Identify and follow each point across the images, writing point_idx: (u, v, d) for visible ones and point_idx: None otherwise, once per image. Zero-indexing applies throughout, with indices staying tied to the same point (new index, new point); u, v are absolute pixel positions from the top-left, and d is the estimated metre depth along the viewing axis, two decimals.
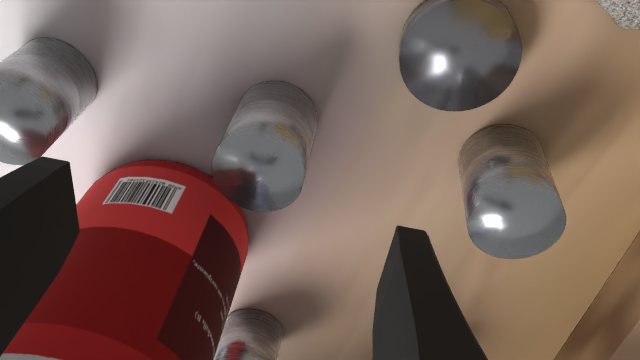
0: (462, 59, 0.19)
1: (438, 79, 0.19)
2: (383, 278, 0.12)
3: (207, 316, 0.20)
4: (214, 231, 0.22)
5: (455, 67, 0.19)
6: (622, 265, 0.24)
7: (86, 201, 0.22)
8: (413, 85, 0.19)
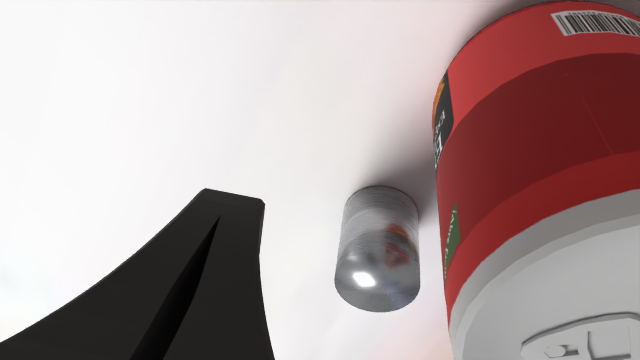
0: None
1: None
2: None
3: None
4: None
5: None
6: None
7: (518, 40, 0.16)
8: None
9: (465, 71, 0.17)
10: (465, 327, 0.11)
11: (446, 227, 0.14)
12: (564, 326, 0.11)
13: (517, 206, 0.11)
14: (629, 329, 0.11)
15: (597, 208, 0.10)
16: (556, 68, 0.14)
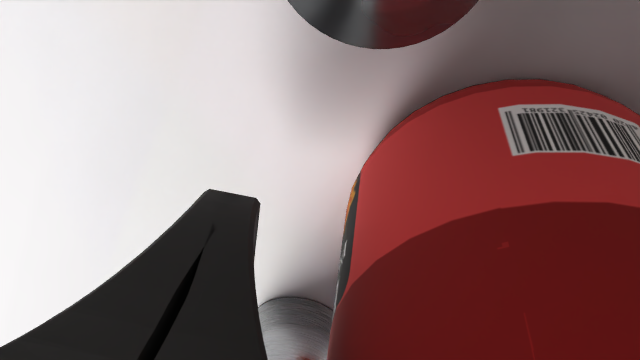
0: None
1: None
2: None
3: None
4: None
5: None
6: None
7: (446, 153, 0.11)
8: None
9: (375, 187, 0.12)
10: None
11: None
12: None
13: None
14: None
15: None
16: (492, 226, 0.08)
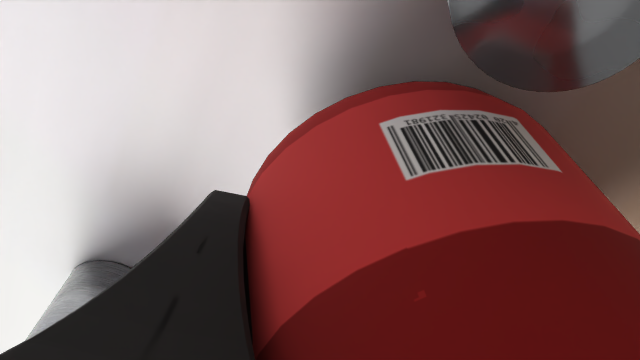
0: None
1: None
2: None
3: None
4: None
5: None
6: None
7: (334, 184, 0.10)
8: None
9: (263, 230, 0.10)
10: None
11: None
12: None
13: None
14: None
15: None
16: (402, 273, 0.08)
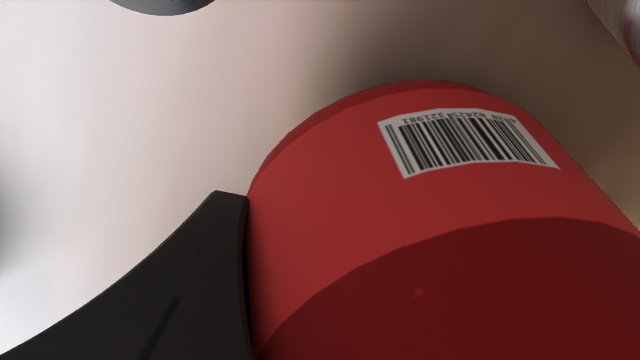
0: None
1: None
2: None
3: None
4: None
5: None
6: None
7: (333, 183, 0.10)
8: None
9: (262, 230, 0.10)
10: None
11: None
12: None
13: None
14: None
15: None
16: (400, 270, 0.08)
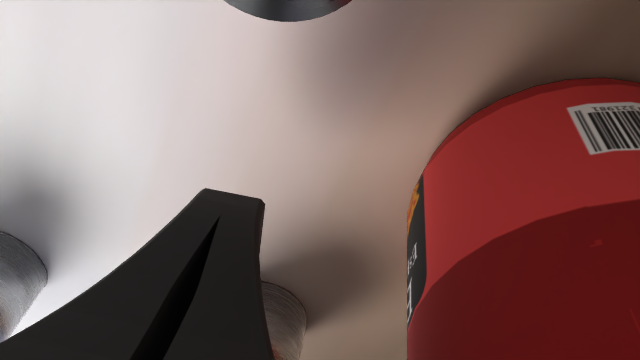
0: None
1: None
2: None
3: None
4: None
5: None
6: None
7: (519, 153, 0.11)
8: None
9: (444, 189, 0.12)
10: None
11: None
12: None
13: None
14: None
15: None
16: (581, 225, 0.09)
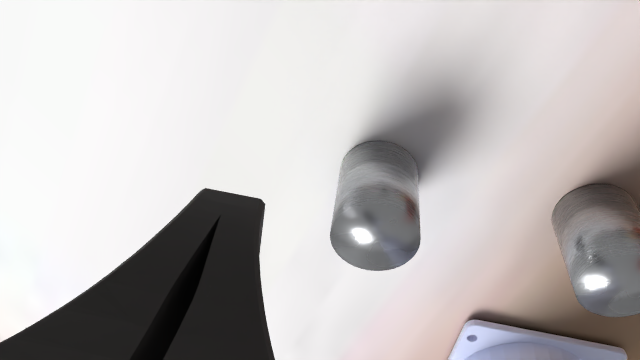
0: None
1: None
2: None
3: None
4: None
5: None
6: None
7: None
8: None
9: None
10: None
11: None
12: None
13: None
14: None
15: None
16: None
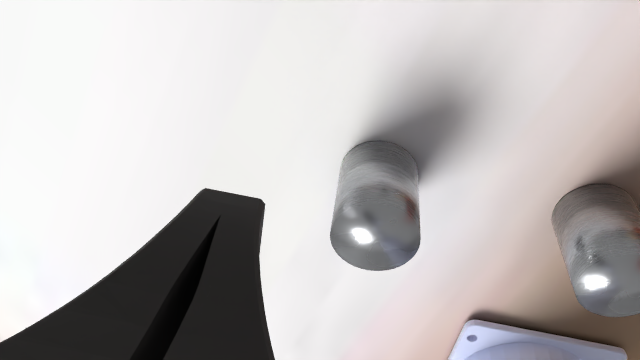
0: None
1: None
2: None
3: None
4: None
5: None
6: None
7: None
8: None
9: None
10: None
11: None
12: None
13: None
14: None
15: None
16: None
